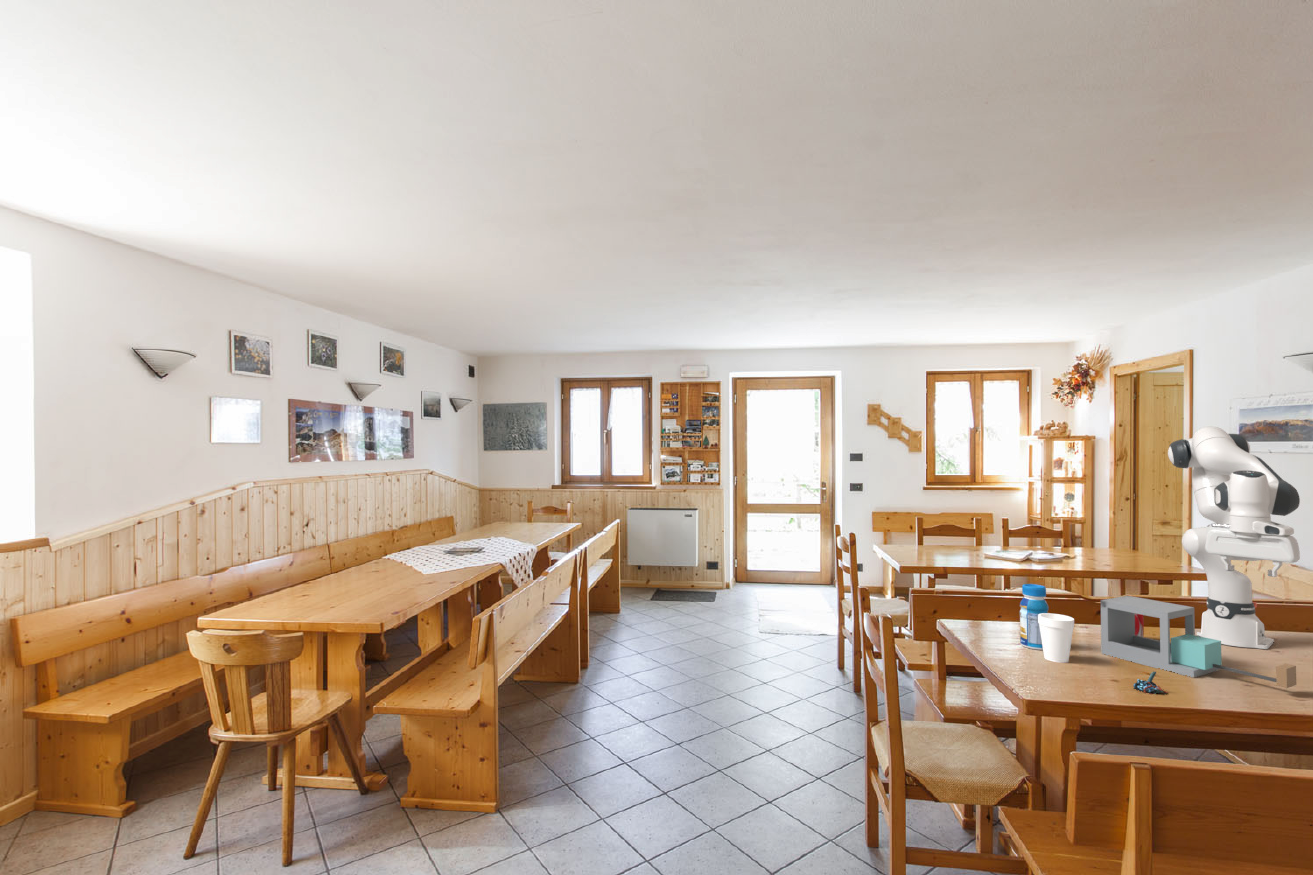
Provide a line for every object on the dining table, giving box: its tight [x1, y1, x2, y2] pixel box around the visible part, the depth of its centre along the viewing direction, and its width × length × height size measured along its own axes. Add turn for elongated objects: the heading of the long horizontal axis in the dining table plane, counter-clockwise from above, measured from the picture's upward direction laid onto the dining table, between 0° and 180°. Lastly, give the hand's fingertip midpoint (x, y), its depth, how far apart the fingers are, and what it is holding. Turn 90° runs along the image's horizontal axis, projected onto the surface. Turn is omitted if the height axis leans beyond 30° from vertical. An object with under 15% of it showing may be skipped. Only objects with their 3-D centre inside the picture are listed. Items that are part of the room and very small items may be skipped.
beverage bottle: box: [1019, 583, 1049, 651], centre depth 205 cm, size 8×8×20 cm
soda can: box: [1135, 613, 1145, 637], centre depth 213 cm, size 7×7×12 cm
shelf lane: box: [1100, 595, 1221, 678], centre depth 191 cm, size 16×24×17 cm, turn 27°
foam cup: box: [1038, 612, 1075, 664], centre depth 192 cm, size 10×9×13 cm
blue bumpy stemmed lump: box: [1133, 670, 1168, 695], centre depth 166 cm, size 8×7×8 cm
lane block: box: [1170, 634, 1297, 689], centre depth 175 cm, size 10×24×7 cm, turn 27°
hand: (1250, 573), depth 181 cm, fingers open, 8 cm apart
